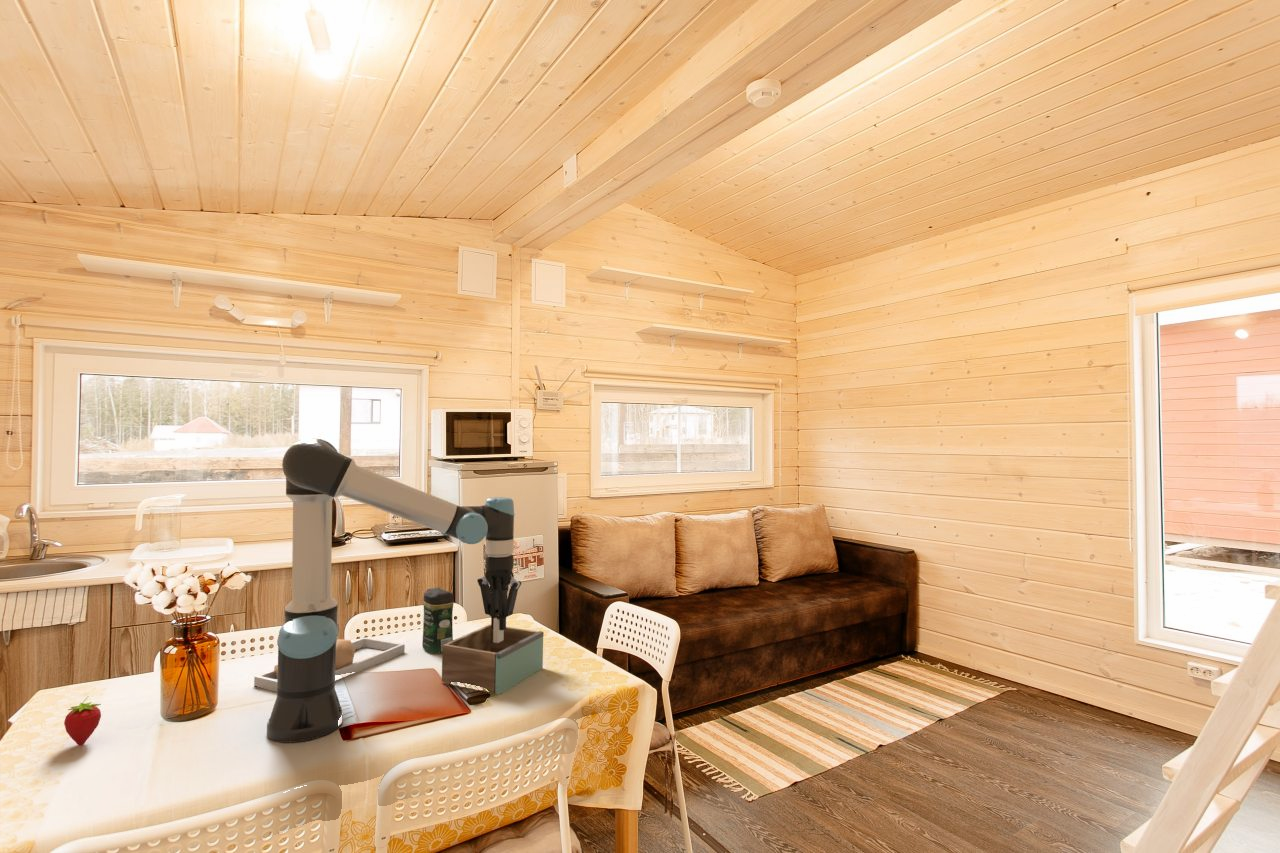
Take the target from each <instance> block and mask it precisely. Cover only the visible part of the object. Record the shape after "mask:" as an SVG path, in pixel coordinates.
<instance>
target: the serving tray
mask: <svg viewBox="0 0 1280 853" xmlns="http://www.w3.org/2000/svg"><path fill="white" fill-rule="evenodd" d="M351 643H352V645H353V647H354V650H355V651H356V649H357V650H359V649H362V648H368V649H369V648H370V649H376V650H381V651H380V652H378V653H376V654H373V655H371V656H368V657H365V658H363V659H360V660H358V661H355V662H353V664H350V665H348V666H345V667H343V668H340V669H338V670H335V675H341V674H346V673H352V672H357V673H358V671H359V672H361V671H364V670H366V669H369V668H371V667H373V666H376V665H378V664H381V663H384V662H385V661H388V660H390V659H392V658H395V657H397V656H400V655H402V654H405V647H406V646H405V644H404V643H400V642H393V641H390V640H389V641H387V640H381V639H377V638H371V637H362V638H358V639H356V640H353V641H351ZM361 647H362V648H361ZM358 648H359V649H358ZM276 679H277V676H276V675H275V673H274V669H272V670H269V671H267V672H263V673H261V674H258V675H256V676H254V679H253V687H255V686H257V687H256V688H259V687H261V688H260V689H263V688H265V690H267V689H269V690H268V691H273V692H276V693H277V680H276Z"/></svg>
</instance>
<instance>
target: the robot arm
mask: <svg viewBox="0 0 1280 853" xmlns="http://www.w3.org/2000/svg"><path fill="white" fill-rule="evenodd" d="M281 464H282V465H281V467H282V472H283V474H284V477H285V496H286V497H288V498H289V499H290V501H291V502H292V560H291V561H292V563H291V564H292V566H291V568H292V570H291V574H292V575H291V586H292V587H291V600H290V602H289V603H288V604H287V605H285V607H284V623H283V625H282V626H281V628H280V629H279V631H278V636H277V665H278V675H277V692H276V698H275V701H274V704H273V707H272V710H271V714H270V717H269V718H268V720H267V724H266V736H267V737H268V739H270V740H272V741H275V742H280V743H297V742H306V741H310V740H315V739H317V738H321V737H324V736H327V735H329V734H330V733H331V734H332V732H334V731H336V730H337V729H339V727H338V720H339V718H340V717H341V715H342V713H343V709H342V707H341V704H340V703H341V702H340V700H339V697H338V694H337V692H336V681H335V661H336V644H337V639H338V637H339V631H340V628H339V627H340V626H339V622H338V616H339V615H338V612H339V610H338V609H339V606H338V604H339V603H338V601H337V600H336V599H335V598H334V597H333V596H332V552H333V551H332V550H333V549H332V548H333V547H332V543H333V541H332V540H333V538H332V536H333V535H332V533H333V532H332V530H333V526H332V525H333V523H332V522H333V499H335V498H339V497H342V496H343V497H345V498H348V499H350V500H353V501H356V502H359V503H361V504H363V505H366V506H369V507H372V508H375V509H377V510H380V511H382V512H386V513H387V514H391V515H393V516H396V517H399V518H402V519H404V520H407V521H409V522H412V523H415V524H417V525H420V526H423V527H426V528H429V529H431V530H434V531H436V532H438V533H440V534H441V535H442V536H450V537H452V538H455V539H457V540H459V541H460V542H462V543H464V544H467V545H476V544H478V543H481V542H482V541H483V540H484V539H485V549H484V552H485V554H486V556H485V558H484V560H485V563H484V567H485V573H484V575H483V576H482V577H481V578H478V579H477V584H478V586H479V588H480V593H481V599H482V603H483V610H484V614H485V615H488V616H490V618H491V620H490V621H491V622H490V624H491V628H492V629H493V642H494V643H499V642H501V641H503V640H504V629H506V627H507V617H510V616H512V615H513V614H514V609H515V604H516V600H517V595H518V592H519V591H518V590H519V589H520V587H521V586H522V581H520V580H519V581H518V580H517V579H516V578H515V575H514V573H513V569H514V548H515V547H514V544H515V543H514V539H515V538H514V537H515V536H514V532H515V531H514V530H515V529H514V528H515V526H514V525H515V515H516V514H515V506H514V500H513V499H512V498H511V497H506V496H505V497H503V496H501V497H500V496H499V497H498V496H496V497H488V498H487V499H486V501H485V504H483V505H475V506H469V505H468V506H466V505H465V506H462V505H461V506H460V505H457V504H455V503H452V502H450V501H447V500H445V499H442V498H439V497H437V496H435V495H432V494H429V493H427V492H425V491H422V490H420V489H417V488H414V487H412V486H411V485H408V484H404V483H403V482H399V481H397V480H394V479H393V478H389V477H387V476H384V475H382V474H379V473H376V472H374V471H372V470H369V469H368V468H367V469H366V468H364V467H362V466H359V465H357V464H356V461H355V460H354V459H353V458H351V457H348V456H346V455H344V454H341V453H340V452H339V451H338V450H337V448H336V447H335V446H334V445H333V444H332V443H330V442H329V441H327V440H325V439H321V438H320V439H319V438H314V437H313V438H306V439H303V440H300V441H298V442H297V441H296V442H295V443H294V444H293V445H291V446H290V447H289V448H288V449H287V450H286V451H285V454H284V455H283V457H282V463H281ZM342 716H343V715H342Z"/></svg>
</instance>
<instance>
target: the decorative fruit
mask: <svg viewBox="0 0 1280 853" xmlns="http://www.w3.org/2000/svg"><path fill="white" fill-rule="evenodd" d="M88 697H89V695H88V696H87V697H86V698H85V699H84V700H83V702H80V704H79V705H75V706H70V708H69V709H67V710H68V711H70V712H68V714H67V715H65V719H64V721H63V724H64V729H65V731H66V733H67V734H68V736H69V737H70V738H71V739H72V741H74V742H75V743H76V744H77V745H78V746H83V745H84V744H86V742H87V740H88V739H89V738H90V737H91V736H92V735H93V733H94V732H95V730H96V729H97V728H98V726H99V723H100V721H101V719H102V718H101V717H102V713H101V709H100V708H99V707H97V706H101V705H102V703H92V701H90V702H86V703H84V702H85V701H86V700H87V699H88Z"/></svg>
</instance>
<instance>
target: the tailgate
mask: <svg viewBox="0 0 1280 853" xmlns="http://www.w3.org/2000/svg"><path fill="white" fill-rule="evenodd" d="M543 660H544V631H540V630H539V631H537V633H535V634H533V635H531V636H529V637H527V638H525V639H523V640H521V641H519V642H517V643H515V644H513V645H511V646H509V647H507V648H505V649H503V650H501V651H499V652H498V653H496V681H495V694H494V695H501V694H504V693H505V692H506V691H508V690H509V689H511V688H513V687H515V686H516V685H517V684H519V683H521V682H523V681H524V680H526V679H527V678H529V677H530V676H532V675H533V674H535V673H537V672H538V671H540V670H542V669H543V668H544V667H543V666H544V663H543Z"/></svg>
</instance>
